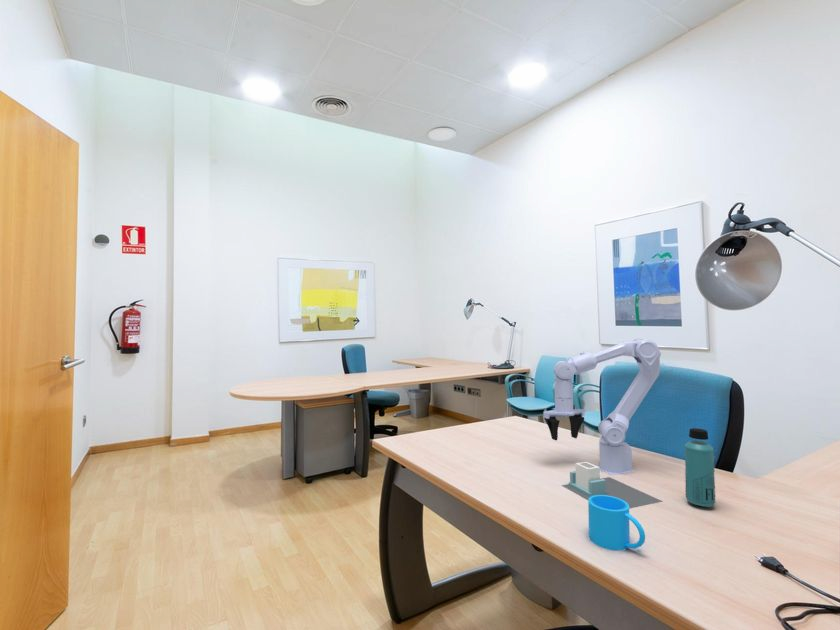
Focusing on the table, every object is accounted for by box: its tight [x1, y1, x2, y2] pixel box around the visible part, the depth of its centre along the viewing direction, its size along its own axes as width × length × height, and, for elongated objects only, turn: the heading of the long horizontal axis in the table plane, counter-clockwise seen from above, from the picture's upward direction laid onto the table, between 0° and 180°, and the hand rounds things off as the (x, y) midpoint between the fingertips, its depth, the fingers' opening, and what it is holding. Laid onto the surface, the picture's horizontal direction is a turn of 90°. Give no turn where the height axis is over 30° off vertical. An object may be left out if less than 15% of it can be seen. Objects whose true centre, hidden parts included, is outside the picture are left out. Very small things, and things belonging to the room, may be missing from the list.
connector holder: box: [568, 470, 608, 497], centre depth 115 cm, size 6×8×4 cm
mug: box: [587, 495, 646, 551], centre depth 87 cm, size 12×8×8 cm
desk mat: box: [561, 476, 663, 509], centre depth 112 cm, size 18×18×1 cm
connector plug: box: [575, 461, 601, 491], centre depth 115 cm, size 4×5×6 cm
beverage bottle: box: [684, 427, 717, 508], centre depth 105 cm, size 6×7×20 cm
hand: (564, 438), depth 134 cm, fingers open, 7 cm apart
